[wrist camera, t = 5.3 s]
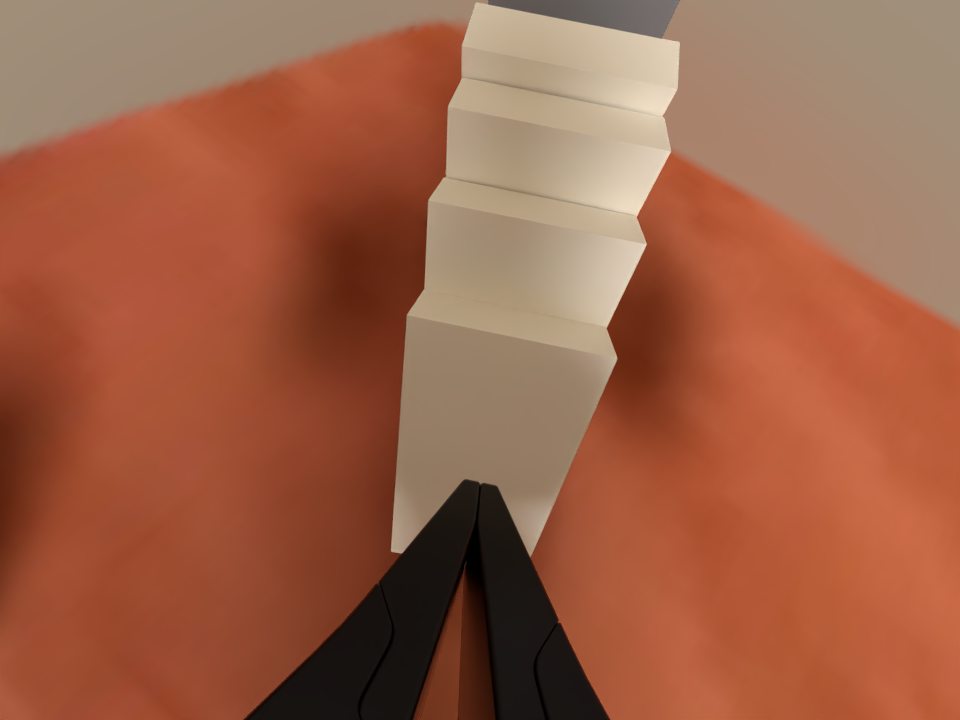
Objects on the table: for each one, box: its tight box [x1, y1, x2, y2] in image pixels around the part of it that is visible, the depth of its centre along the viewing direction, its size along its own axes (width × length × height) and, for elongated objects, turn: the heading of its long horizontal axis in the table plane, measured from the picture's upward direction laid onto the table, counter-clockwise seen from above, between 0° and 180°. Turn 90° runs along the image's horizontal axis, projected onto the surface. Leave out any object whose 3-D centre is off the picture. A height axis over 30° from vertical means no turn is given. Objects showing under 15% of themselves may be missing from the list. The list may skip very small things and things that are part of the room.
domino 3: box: [446, 77, 671, 217], centre depth 13 cm, size 2×5×10 cm, turn 78°
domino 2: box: [424, 177, 647, 328], centre depth 12 cm, size 2×5×10 cm
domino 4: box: [462, 2, 680, 117], centre depth 14 cm, size 2×5×10 cm, turn 78°
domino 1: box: [391, 290, 618, 558], centre depth 12 cm, size 2×5×10 cm
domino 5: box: [488, 0, 680, 39], centre depth 15 cm, size 2×5×10 cm, turn 79°
